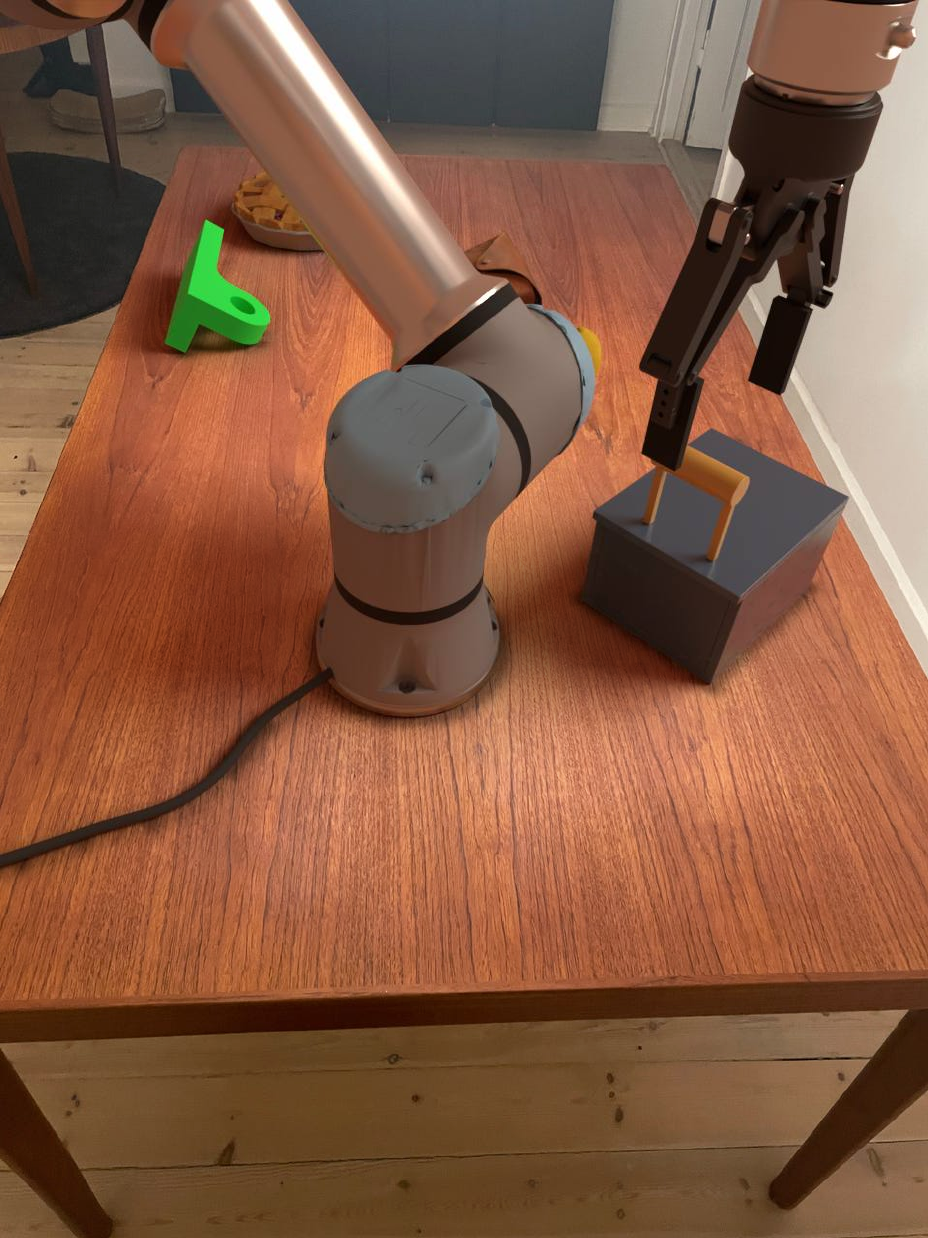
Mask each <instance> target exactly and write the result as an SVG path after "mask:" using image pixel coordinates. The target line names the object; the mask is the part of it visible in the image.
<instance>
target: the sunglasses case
mask: <svg viewBox="0 0 928 1238" xmlns="http://www.w3.org/2000/svg"><path fill="white" fill-rule="evenodd" d="M463 252H464V254H465V255H466V256H467V258H468V259H469V261H470V262H471V264H472V265H473V266H474V268H475V269H476V270H477V271H478V272H479V273H481V274H482V275H488V276H494V277H500V278H505V279H507V280H508V281H509V283H510V284H511V286H512V287H513V288H514V290H515V291H516V293H517V294H518V296H519V297H520V298H521V300H522V301H523V303H524V304H536V305H541V306H543V296H542V294H541V292H540V290H539V288H538V286H537V282H536V281H535V279H534V277H533V274H532V273H531V271H530V270H529V267H528V265H527V264H526V262H525V260H524V258H523V256H522V255H521V252H520V251H519V249H518V247H517V245H515V243H514V241H513V240H512V238H511V237H510V234H509V233H508V232H507V231H506V230H505V229H503V230H502V231H501V232H500V234H498V235H496V236H494V237H492V238H490V239H488V240H485V241H483V242H481V243H479V244H477V245H475V246H473V247H470V248H468V249H466V250H465V251H463Z"/></svg>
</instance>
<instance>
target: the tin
mask: <svg viewBox="0 0 928 1238" xmlns="http://www.w3.org/2000/svg"><path fill="white" fill-rule="evenodd" d="M846 505H847V504H846ZM846 505H845V506H844V507H843V508H842V509H841V510H839V511H838V512H837V513H836V514H835V515H834V516H833V517H832V518H831V519H830V520H829V521H828V522H826V523H825V524H824V525H823V526H822V527H821V528H820V529H819V530H818V531H817V532H816V533H814V534H813V535H812V536H811V537H810V538H809V539H808V540H807V541H806V542H805V543H804V544H803V545H801V546H800V547H799V548H798V549H797V550H796V551H795V552H794V553H793V554H792V555H791V556H790V557H788V558H787V559H786V560H785V561H784V562H783V563H782V564H781V565H780V566H779V567H778V568H776V569H775V570H774V571H773V572H772V573H771V574H770V575H769V576H768V577H767V578H766V579H765V580H763V581H762V582H761V583H760V584H759V585H758V586H757V587H756V588H755V589H754V590H753V591H751V592H750V593H749V594H748V595H747V596H746V597H745V598H744V599H743V600H742V601H741V602H740V603H738V604H735V603H733V602H732V601H730V600H728V599H726V598H725V597H723V596H721V595H720V594H718V593H716V592H715V591H713V590H711V589H710V588H708V587H706V586H705V585H703V584H701V583H700V582H698V581H696V580H695V579H693V578H691V577H690V576H688V575H686V574H685V573H683V572H681V571H680V570H678V569H676V568H675V567H673V566H671V565H670V564H668V563H666V562H665V561H663V560H661V559H659V558H658V557H656V556H654V555H653V554H651V553H649V552H648V551H646V550H644V549H643V548H641V547H639V546H638V545H636V544H634V543H633V542H631V541H629V540H628V539H626V538H624V537H623V536H621V535H619V534H618V533H616V532H614V531H613V530H611V529H609V528H608V527H606V526H604V525H603V524H601V523H599V522H598V521H596V523H595V527H594V532H593V537H592V542H591V546H590V552H589V556H588V562H587V567H586V572H585V577H584V582H583V586H582V591H581V595H580V601H581V602H583V603H584V604H586V605H588V606H589V607H591V608H592V609H594V610H595V611H597V612H598V613H600V614H601V615H603V616H604V617H606V618H607V619H609V620H610V621H612V622H613V623H615V624H616V625H618V626H619V627H621V628H623V629H624V630H625V631H627V632H628V633H631V634H632V635H633V636H634V637H636V638H637V639H639V640H641V641H642V642H644V643H646V644H647V645H648V646H650V647H652V648H653V649H655V650H656V651H658V652H659V653H661V654H662V655H664V656H665V657H667V658H668V659H670V660H671V661H673V662H675V663H676V664H677V665H679V666H680V667H682V668H684V669H685V670H687V671H688V672H690V673H691V674H692V675H694V676H696V677H697V678H699V679H700V680H701V681H703V682H705V683H706V684H708V685H712V684H713V682H715V681H716V680H717V679H718V678H719V677H720V676H721V675H722V674H723V673H724V672H725V671H726V670H727V669H728V668H729V667H730V666H731V665H732V664H733V663H734V662H735V661H736V660H737V659H738V658H739V657H741V655H743V653H744V652H746V651H747V649H749V648H750V646H752V645H753V644H754V642H756V640H757V639H759V638H760V637H761V636H762V635H763V634H764V633H765V632H766V631H767V630H768V629H769V628H770V627H771V626H773V624H775V622H776V621H777V620H778V619H779V618H780V617H781V616H782V615H783V614H784V613H785V612H786V611H788V610H789V608H791V606H792V605H794V603H795V602H796V601H798V599H800V597H801V596H802V595H804V593H806V592H807V591H808V590H809V589H810V587H811V584H812V582H813V579H814V577H815V575H816V573H817V570H818V568H819V565H820V564H821V562H822V560H823V557H824V555H825V552H826V551H827V548H828V546H829V543H830V542H831V539H832V537H833V535H834V533H835V531H836V528H837V526H838V524H839V521H840V519H841V517H842V515H843V512H844V510H845V508H846Z"/></svg>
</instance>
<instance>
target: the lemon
mask: <svg viewBox="0 0 928 1238" xmlns="http://www.w3.org/2000/svg"><path fill="white" fill-rule="evenodd" d="M574 327H575V328H576V329H577V331H578V332H579V333H580V335H581V336H582V338H583V340H584V341H585V343H586V345H587V348H588V350H589V352H590V355H591V358H592V362H593V366H594V372H595V378H597V376H598V375H599V372H600V368H601V365H602V360H603V359H602V356H603V355H602V345H601V341H600V339H599V338H598V336H597V334H596V333H594V332H593V331H592V330H591V329H589V328H587V327H585V326H584V325H578V326H574Z"/></svg>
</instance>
